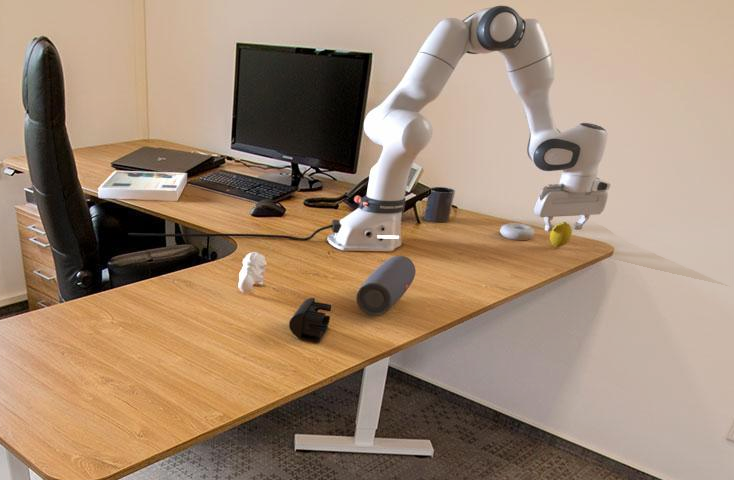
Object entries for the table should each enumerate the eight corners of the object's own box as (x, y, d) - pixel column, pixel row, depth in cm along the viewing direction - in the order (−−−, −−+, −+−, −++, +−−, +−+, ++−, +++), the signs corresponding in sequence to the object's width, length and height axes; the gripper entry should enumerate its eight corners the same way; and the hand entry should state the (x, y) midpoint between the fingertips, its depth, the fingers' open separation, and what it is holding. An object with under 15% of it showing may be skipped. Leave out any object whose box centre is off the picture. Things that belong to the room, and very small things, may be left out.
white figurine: (268, 251, 181) (256, 269, 172) (266, 280, 186) (255, 300, 177) (245, 248, 183) (232, 266, 174) (244, 277, 188) (231, 296, 179)
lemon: (565, 246, 211) (573, 220, 207) (568, 251, 206) (576, 225, 202) (545, 244, 212) (553, 218, 208) (548, 249, 208) (555, 223, 204)
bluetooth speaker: (389, 324, 161) (397, 284, 156) (351, 316, 166) (357, 277, 160) (414, 293, 178) (421, 256, 173) (378, 287, 182) (384, 250, 177)
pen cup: (430, 223, 233) (436, 193, 227) (419, 216, 239) (425, 187, 234) (452, 222, 233) (459, 192, 228) (441, 215, 240) (447, 186, 235)
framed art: (187, 172, 283) (177, 190, 257) (186, 182, 285) (177, 201, 259) (115, 170, 287) (98, 188, 261) (115, 179, 289) (98, 198, 263)
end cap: (299, 322, 163) (302, 295, 159) (328, 327, 160) (332, 300, 157) (287, 338, 155) (290, 310, 152) (318, 344, 153) (321, 316, 149)
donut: (538, 242, 214) (526, 232, 223) (541, 231, 213) (529, 221, 221) (504, 241, 215) (494, 231, 224) (507, 230, 213) (497, 221, 222)
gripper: (549, 187, 196) (536, 234, 203) (616, 184, 198) (600, 231, 205) (536, 182, 201) (524, 228, 209) (601, 179, 203) (586, 225, 210)
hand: (562, 229), depth 207 cm, fingers open, 8 cm apart
